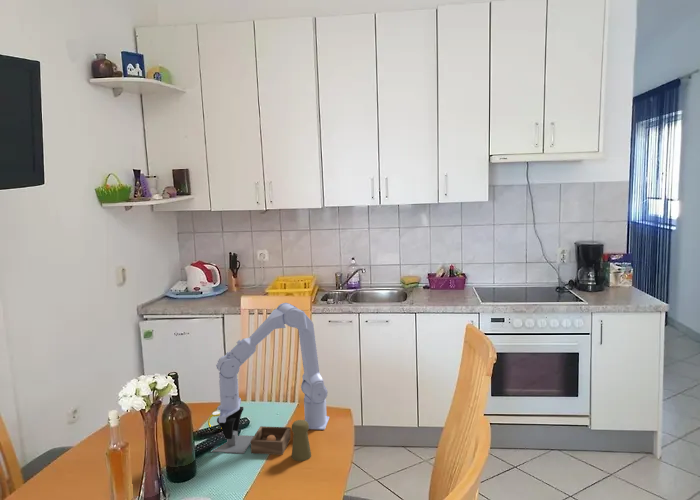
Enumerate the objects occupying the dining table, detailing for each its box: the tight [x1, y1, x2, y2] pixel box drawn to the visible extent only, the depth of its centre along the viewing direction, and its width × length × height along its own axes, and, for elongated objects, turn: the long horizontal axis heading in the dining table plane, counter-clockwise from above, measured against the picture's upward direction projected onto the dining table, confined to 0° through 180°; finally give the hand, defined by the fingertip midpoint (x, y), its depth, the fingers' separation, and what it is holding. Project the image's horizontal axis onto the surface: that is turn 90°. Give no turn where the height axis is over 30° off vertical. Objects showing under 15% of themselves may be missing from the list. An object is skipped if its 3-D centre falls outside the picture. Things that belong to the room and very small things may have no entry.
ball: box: [266, 435, 276, 441], centre depth 168 cm, size 3×3×3 cm
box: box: [250, 425, 292, 456], centre depth 168 cm, size 10×10×4 cm
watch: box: [207, 410, 220, 427], centre depth 181 cm, size 6×3×6 cm, turn 98°
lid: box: [211, 430, 254, 455], centre depth 170 cm, size 11×11×4 cm
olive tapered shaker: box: [291, 419, 312, 462], centre depth 161 cm, size 6×6×11 cm
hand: (231, 434), depth 169 cm, fingers open, 5 cm apart
